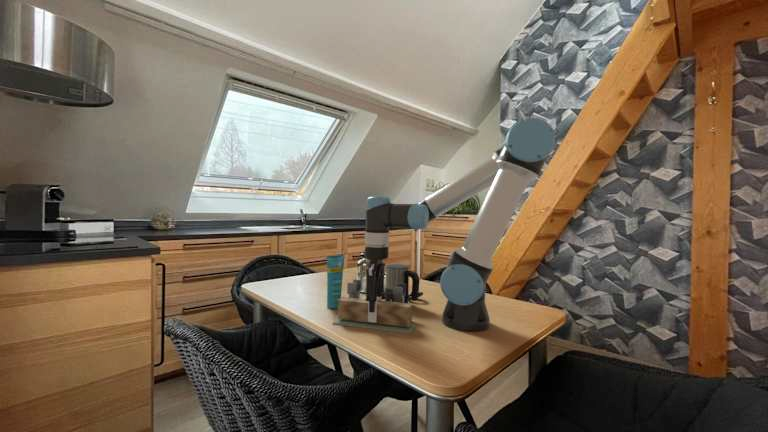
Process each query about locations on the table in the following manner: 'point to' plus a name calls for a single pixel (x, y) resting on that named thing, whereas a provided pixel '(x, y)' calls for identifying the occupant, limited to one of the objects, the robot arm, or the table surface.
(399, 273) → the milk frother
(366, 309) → the rail
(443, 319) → the robot arm
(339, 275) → the tube
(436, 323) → the table surface
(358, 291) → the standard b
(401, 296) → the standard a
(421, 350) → the table surface
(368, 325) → the felt mat
